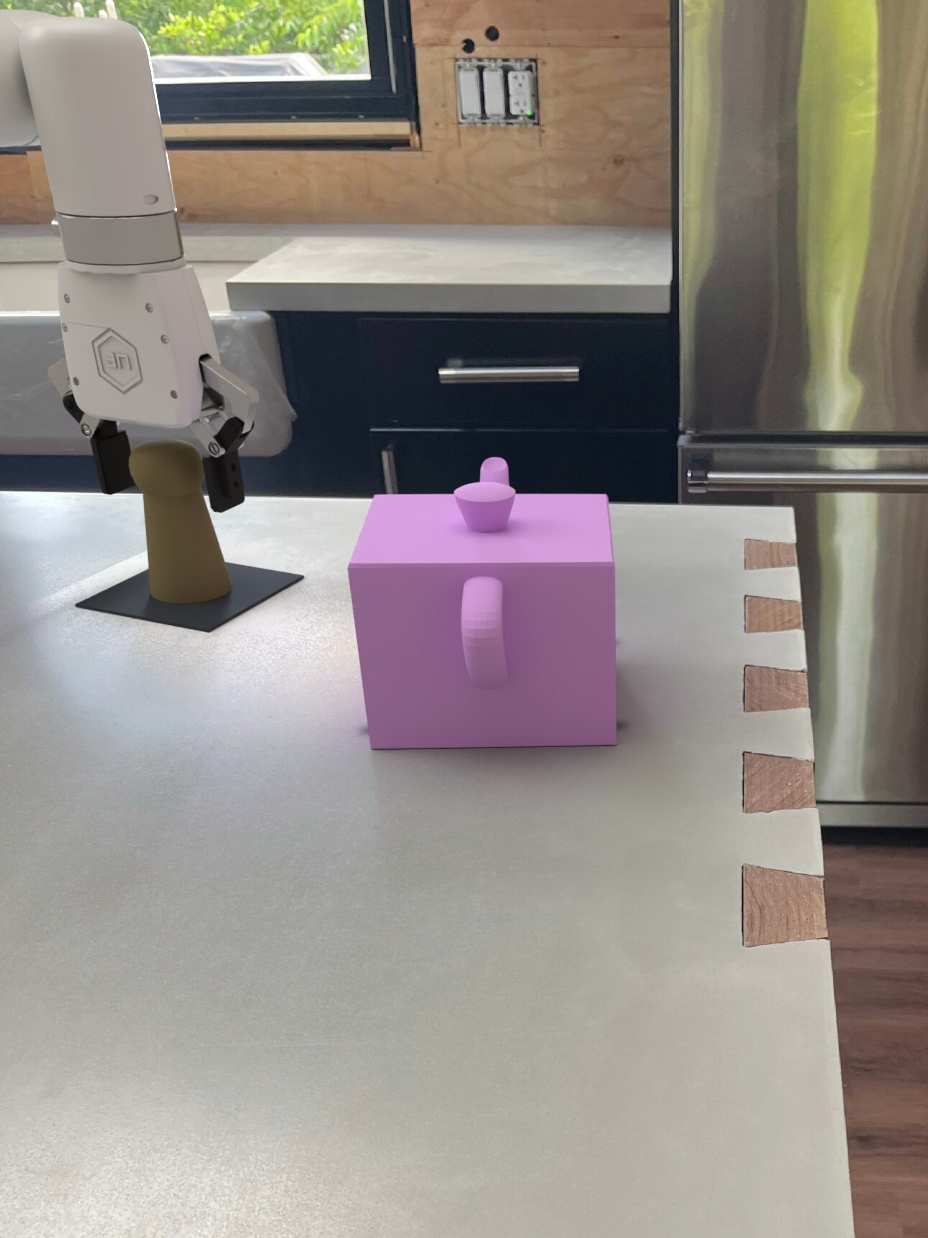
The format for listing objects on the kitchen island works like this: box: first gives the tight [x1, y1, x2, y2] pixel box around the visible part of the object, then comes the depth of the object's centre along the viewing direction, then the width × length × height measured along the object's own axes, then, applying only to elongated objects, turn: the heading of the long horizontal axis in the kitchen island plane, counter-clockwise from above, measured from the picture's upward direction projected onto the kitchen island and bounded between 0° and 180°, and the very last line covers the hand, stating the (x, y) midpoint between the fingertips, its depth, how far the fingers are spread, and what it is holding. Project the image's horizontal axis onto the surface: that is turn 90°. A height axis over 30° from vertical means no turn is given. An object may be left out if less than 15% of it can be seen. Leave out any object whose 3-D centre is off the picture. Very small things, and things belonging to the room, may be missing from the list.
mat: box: [74, 561, 305, 633], centre depth 101 cm, size 12×12×1 cm
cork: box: [129, 438, 233, 604], centre depth 98 cm, size 6×6×11 cm
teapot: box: [347, 456, 618, 750], centre depth 84 cm, size 15×25×14 cm, turn 5°
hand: (173, 498), depth 97 cm, fingers open, 9 cm apart
